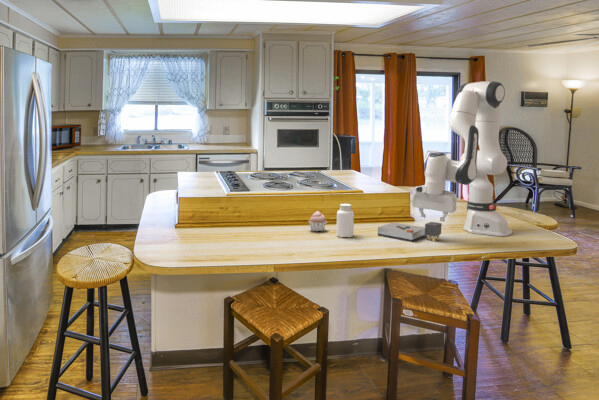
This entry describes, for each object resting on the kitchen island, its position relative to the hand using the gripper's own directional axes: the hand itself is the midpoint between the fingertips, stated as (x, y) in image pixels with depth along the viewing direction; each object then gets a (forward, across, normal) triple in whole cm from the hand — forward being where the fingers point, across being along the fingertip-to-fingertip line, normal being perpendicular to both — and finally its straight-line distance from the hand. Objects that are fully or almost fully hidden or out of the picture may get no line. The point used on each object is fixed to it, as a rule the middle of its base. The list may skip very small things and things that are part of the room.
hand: (432, 219), depth 219 cm
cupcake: (+11, +50, +21) cm, 55 cm away
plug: (+9, 0, -1) cm, 9 cm away
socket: (+10, +14, +2) cm, 17 cm away
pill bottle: (+11, +34, +20) cm, 41 cm away
